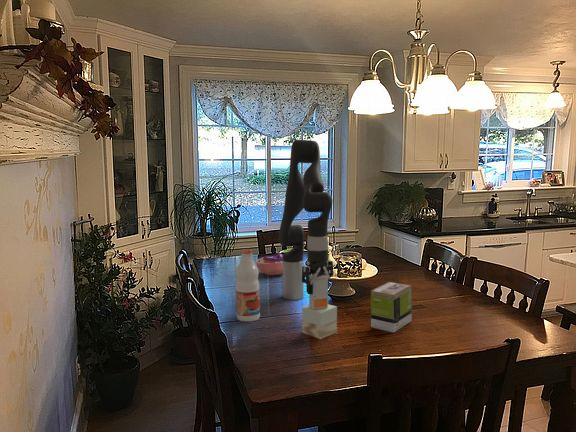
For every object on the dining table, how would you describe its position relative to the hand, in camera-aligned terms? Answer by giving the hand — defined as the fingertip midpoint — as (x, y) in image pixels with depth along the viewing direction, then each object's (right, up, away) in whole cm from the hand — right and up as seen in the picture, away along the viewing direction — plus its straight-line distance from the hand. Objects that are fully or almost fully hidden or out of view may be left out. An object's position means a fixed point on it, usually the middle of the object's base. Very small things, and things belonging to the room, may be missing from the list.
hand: (318, 291), depth 176 cm
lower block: (+1, -16, +3) cm, 16 cm away
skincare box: (0, -6, +1) cm, 6 cm away
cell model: (-19, -5, +87) cm, 89 cm away
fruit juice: (-27, -14, +19) cm, 36 cm away
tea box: (+29, -15, +10) cm, 34 cm away
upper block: (+1, -11, +2) cm, 11 cm away
